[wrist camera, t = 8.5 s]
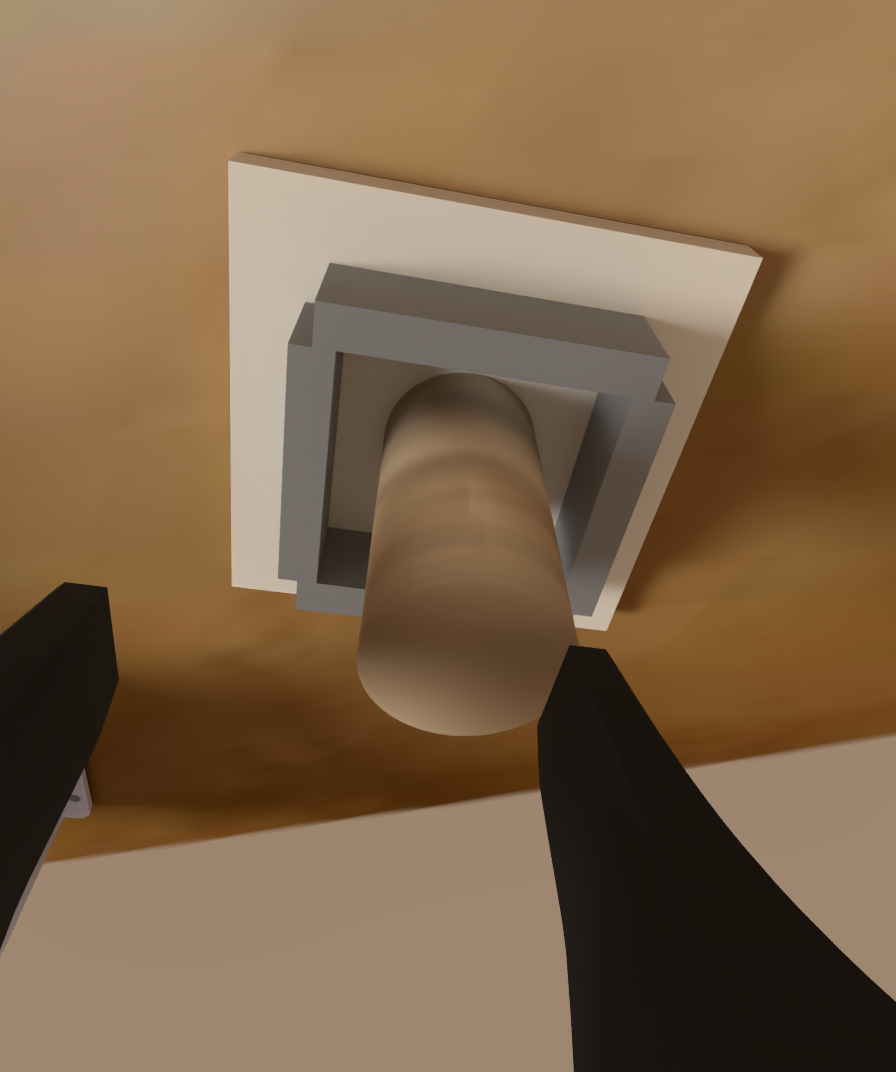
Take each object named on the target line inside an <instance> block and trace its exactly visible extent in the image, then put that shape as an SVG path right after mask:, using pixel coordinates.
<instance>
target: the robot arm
mask: <svg viewBox="0 0 896 1072" xmlns="http://www.w3.org/2000/svg"><path fill="white" fill-rule="evenodd" d="M118 680H119V678H118V670H117V662H116V654H115V646H114V638H113V630H112V622H111V614H110V606H109V598H108V590H107V587H100V586H92V585H84V584H75V583H67V582H64V583H63V584H62V585H60V586H59V587H57V588H56V589H55V590H54V591H52V592H51V593H50V594H49V595H48V596H46V597H45V598H44V599H43V600H42V601H40V602H39V603H38V604H37V605H36V606H34V607H33V608H32V609H31V610H30V611H28V612H27V613H26V614H25V615H24V616H22V617H21V618H20V619H19V620H18V621H16V622H15V623H14V624H13V625H12V626H10V627H9V628H8V629H7V630H6V631H4V632H3V633H2V634H1V635H0V956H1V955H2V953H3V951H4V949H5V947H6V944H7V942H8V940H9V937H10V935H11V933H12V931H13V929H14V926H15V924H16V922H17V920H18V918H19V916H20V913H21V911H22V909H23V907H24V904H25V902H26V900H27V897H28V896H29V893H30V891H31V889H32V887H33V884H34V882H35V880H36V878H37V876H38V873H39V871H40V869H41V867H42V864H43V862H44V860H45V858H46V856H47V853H48V851H49V849H50V847H51V844H52V842H53V840H54V838H55V836H56V833H57V831H58V829H59V827H60V824H61V822H62V820H63V818H64V817H70V818H85V817H87V816H89V815H90V812H91V810H92V806H93V805H92V800H91V796H90V791H89V786H88V781H87V777H86V772H85V766H86V764H87V762H88V760H89V758H90V756H91V753H92V751H93V749H94V747H95V745H96V743H97V741H98V738H99V735H100V732H101V730H102V727H103V724H104V721H105V719H106V716H107V713H108V710H109V707H110V704H111V701H112V698H113V695H114V692H115V689H116V686H117V683H118ZM537 734H538V762H539V780H540V790H541V796H542V803H543V809H544V815H545V821H546V828H547V834H548V840H549V846H550V852H551V857H552V863H553V869H554V875H555V881H556V887H557V893H558V899H559V905H560V911H561V916H562V923H563V931H564V938H565V947H566V956H567V970H568V984H569V997H570V1011H571V1026H572V1046H573V1064H574V1072H896V1002H895V1001H894V1000H893V999H892V998H891V997H890V996H889V995H888V994H886V993H885V992H884V991H883V990H882V989H881V988H880V987H879V986H878V985H877V984H875V983H874V982H873V981H872V980H871V979H870V978H869V977H868V976H867V975H866V974H865V973H864V972H863V971H861V969H859V968H858V967H857V966H856V965H855V964H854V963H853V962H852V961H851V960H850V959H849V958H848V957H847V956H846V955H845V954H844V953H843V952H842V951H841V950H840V949H839V948H838V947H837V946H836V945H835V944H834V943H833V942H832V941H831V940H830V939H829V938H828V937H827V936H826V935H825V934H824V933H823V932H822V931H821V930H820V929H819V928H818V927H817V926H816V925H815V924H814V923H813V922H812V921H811V920H810V919H809V918H808V917H807V916H806V915H805V914H804V913H803V912H802V911H801V910H800V909H799V908H798V907H797V906H796V905H795V904H794V902H793V901H792V900H791V899H790V898H789V897H788V896H787V895H786V894H785V893H784V892H783V891H782V890H781V888H780V887H779V886H778V885H777V884H776V883H775V882H774V881H773V880H772V878H771V877H770V876H769V875H768V874H767V873H766V872H765V870H764V869H763V868H762V867H761V866H760V865H759V863H758V862H757V861H756V860H755V859H754V858H753V857H752V855H751V854H750V853H749V852H748V851H747V850H746V849H745V847H744V846H743V845H742V844H741V843H740V841H739V840H738V839H737V838H736V837H735V836H734V834H733V833H732V832H731V831H730V829H729V828H728V827H727V826H726V824H725V823H724V822H723V820H722V819H721V818H720V817H719V816H718V814H717V813H716V811H715V810H714V809H713V807H712V806H711V805H710V804H709V802H708V801H707V800H706V798H705V797H704V796H703V794H702V793H701V792H700V790H699V789H698V787H697V786H696V785H695V783H694V782H693V781H692V779H691V778H690V776H689V775H688V774H687V772H686V771H685V769H684V768H683V767H682V765H681V764H680V762H679V761H678V759H677V758H676V756H675V755H674V753H673V752H672V751H671V749H670V748H669V746H668V745H667V743H666V742H665V740H664V739H663V738H662V736H661V735H660V733H659V731H658V730H657V728H656V727H655V725H654V724H653V722H652V721H651V719H650V718H649V716H648V715H647V713H646V712H645V710H644V708H643V707H642V705H641V704H640V702H639V701H638V699H637V698H636V696H635V694H634V693H633V691H632V690H631V688H630V687H629V685H628V683H627V682H626V680H625V679H624V677H623V675H622V674H621V672H620V671H619V669H618V668H617V666H616V664H615V663H614V661H613V660H612V658H611V657H610V655H609V654H608V652H607V651H606V649H598V648H590V647H582V646H574V645H569V648H568V650H567V653H566V655H565V658H564V660H563V663H562V665H561V668H560V670H559V673H558V675H557V678H556V680H555V683H554V685H553V687H552V690H551V692H550V695H549V697H548V700H547V702H546V705H545V707H544V710H543V712H542V715H541V717H540V720H539V722H538V725H537Z"/></svg>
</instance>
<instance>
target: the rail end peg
mask: <svg viewBox="0 0 896 1072" xmlns="http://www.w3.org/2000/svg"><path fill="white" fill-rule="evenodd" d="M569 645H574V646H579V644H578V639H577V634H576V629H575V625H574V620H573V615H572V610H571V605H570V601H569V596H568V591H567V586H566V581H565V577H564V572H563V567H562V562H561V557H560V552H559V548H558V543H557V538H556V533H555V528H554V524H553V519H552V514H551V509H550V504H549V499H548V495H547V490H546V485H545V480H544V475H543V471H542V466H541V461H540V456H539V451H538V446H537V442H536V437H535V432H534V427H533V423H532V420H531V417H530V414H529V412H528V410H527V408H526V407H525V405H524V404H523V402H522V401H521V400H520V399H519V397H518V396H517V395H516V394H515V393H514V392H513V391H511V390H510V389H509V388H508V387H506V386H505V385H503V384H502V383H500V382H498V381H496V380H494V379H491V378H488V377H485V376H482V375H478V374H473V373H449V374H443V375H439V376H435V377H432V378H430V379H427V380H425V381H423V382H421V383H419V384H417V385H416V386H414V387H413V388H411V389H410V390H409V391H408V392H406V393H405V394H404V395H403V396H402V397H401V398H400V399H399V401H398V402H397V404H396V405H395V406H394V408H393V410H392V412H391V413H390V415H389V418H388V421H387V424H386V429H385V435H384V443H383V451H382V459H381V467H380V475H379V483H378V491H377V499H376V507H375V515H374V523H373V531H372V539H371V547H370V555H369V563H368V571H367V579H366V587H365V595H364V603H363V612H362V620H361V628H360V636H359V644H358V652H357V668H358V674H359V677H360V680H361V683H362V685H363V687H364V689H365V690H366V692H367V694H368V695H369V696H370V697H371V699H372V700H373V701H374V702H375V703H376V704H377V705H378V706H379V707H380V708H381V709H382V710H384V711H385V712H386V713H388V714H389V715H390V716H392V717H394V718H396V719H397V720H399V721H401V722H403V723H405V724H407V725H410V726H412V727H415V728H418V729H421V730H424V731H428V732H432V733H437V734H444V735H452V736H479V735H488V734H494V733H499V732H504V731H507V730H511V729H514V728H517V727H520V726H522V725H525V724H527V723H529V722H531V721H533V720H535V719H537V718H539V717H541V715H542V712H543V710H544V707H545V705H546V702H547V700H548V697H549V695H550V692H551V690H552V687H553V685H554V683H555V680H556V678H557V675H558V673H559V670H560V668H561V665H562V663H563V660H564V658H565V655H566V653H567V650H568V648H569Z"/></svg>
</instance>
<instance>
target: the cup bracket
mask: <svg viewBox="0 0 896 1072" xmlns="http://www.w3.org/2000/svg"><path fill="white" fill-rule="evenodd" d="M228 169H229V296H230V422H231V549H232V586H234V587H242V588H250V589H259V590H267V591H275V592H284V593H292V594H296V607H295V609H300V610H309V611H318V612H326V613H335V614H343V615H352V616H360V617H362V612H363V603H364V595H365V587H366V579H367V571H368V563H369V555H370V547H371V539H372V531H373V523H374V515H375V507H376V499H377V491H378V483H379V475H380V467H381V459H382V451H383V443H384V435H385V429H386V424H387V421H388V418H389V415H390V413H391V412H392V410H393V408H394V406H395V405H396V404H397V402H398V401H399V399H400V398H401V397H402V396H403V395H404V394H405V393H406V392H408V391H409V390H410V389H411V388H413V387H414V386H416V385H417V384H419V383H421V382H423V381H425V380H427V379H430V378H432V377H435V376H439V375H443V374H449V373H473V374H478V375H482V376H485V377H488V378H491V379H494V380H496V381H498V382H500V383H502V384H503V385H505V386H506V387H508V388H509V389H510V390H511V391H513V392H514V393H515V394H516V395H517V396H518V397H519V399H520V400H521V401H522V402H523V404H524V405H525V407H526V408H527V410H528V412H529V414H530V417H531V420H532V423H533V427H534V432H535V437H536V442H537V446H538V451H539V456H540V461H541V466H542V471H543V475H544V480H545V485H546V490H547V495H548V499H549V504H550V509H551V514H552V519H553V524H554V528H555V533H556V538H557V543H558V548H559V552H560V557H561V562H562V567H563V572H564V577H565V581H566V586H567V591H568V596H569V601H570V605H571V610H572V615H573V620H574V625H575V627H577V628H586V629H594V630H603V631H607V628H608V626H609V624H610V621H611V619H612V616H613V614H614V612H615V609H616V607H617V605H618V602H619V600H620V597H621V595H622V593H623V590H624V588H625V585H626V583H627V581H628V578H629V576H630V574H631V571H632V569H633V566H634V564H635V562H636V559H637V557H638V555H639V552H640V550H641V547H642V545H643V543H644V540H645V538H646V535H647V533H648V531H649V528H650V526H651V524H652V521H653V519H654V516H655V514H656V512H657V509H658V507H659V505H660V502H661V500H662V497H663V495H664V493H665V490H666V488H667V485H668V483H669V481H670V478H671V476H672V474H673V471H674V469H675V466H676V464H677V462H678V459H679V457H680V455H681V452H682V450H683V447H684V445H685V443H686V440H687V438H688V435H689V433H690V431H691V428H692V426H693V424H694V421H695V419H696V416H697V414H698V412H699V409H700V407H701V405H702V402H703V400H704V397H705V395H706V393H707V390H708V388H709V385H710V383H711V381H712V378H713V376H714V374H715V371H716V369H717V366H718V364H719V362H720V359H721V357H722V355H723V352H724V350H725V347H726V345H727V343H728V340H729V338H730V336H731V333H732V331H733V328H734V326H735V324H736V321H737V319H738V316H739V314H740V312H741V309H742V307H743V305H744V302H745V300H746V297H747V295H748V293H749V290H750V288H751V286H752V283H753V281H754V278H755V276H756V274H757V271H758V269H759V266H760V264H761V262H762V259H763V258H762V257H761V256H760V255H759V254H757V253H756V252H755V251H754V250H753V249H751V248H750V247H749V246H747V245H741V244H736V243H730V242H725V241H720V240H714V239H709V238H703V237H698V236H692V235H687V234H682V233H676V232H671V231H665V230H660V229H654V228H649V227H644V226H638V225H633V224H627V223H622V222H617V221H611V220H606V219H600V218H595V217H589V216H584V215H579V214H573V213H568V212H562V211H557V210H551V209H546V208H541V207H535V206H530V205H524V204H519V203H513V202H508V201H503V200H497V199H492V198H486V197H481V196H475V195H470V194H465V193H459V192H454V191H448V190H443V189H437V188H432V187H427V186H421V185H416V184H410V183H405V182H399V181H394V180H389V179H383V178H378V177H372V176H367V175H361V174H356V173H351V172H345V171H340V170H334V169H329V168H323V167H318V166H313V165H307V164H302V163H296V162H291V161H285V160H280V159H275V158H269V157H264V156H258V155H253V154H247V153H242V152H238V153H237V154H236V155H234V156H233V157H232V158H231V159H230V160H228Z"/></svg>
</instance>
